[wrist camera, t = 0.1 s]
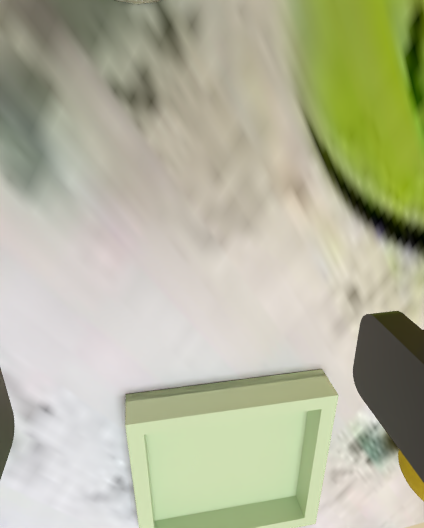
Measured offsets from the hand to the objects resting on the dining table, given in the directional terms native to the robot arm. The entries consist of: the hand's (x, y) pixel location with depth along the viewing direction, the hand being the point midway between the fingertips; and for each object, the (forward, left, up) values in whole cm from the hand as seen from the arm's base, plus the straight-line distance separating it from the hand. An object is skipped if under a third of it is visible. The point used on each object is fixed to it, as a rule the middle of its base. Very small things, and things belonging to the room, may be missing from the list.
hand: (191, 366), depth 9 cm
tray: (+25, +5, -17) cm, 30 cm away
